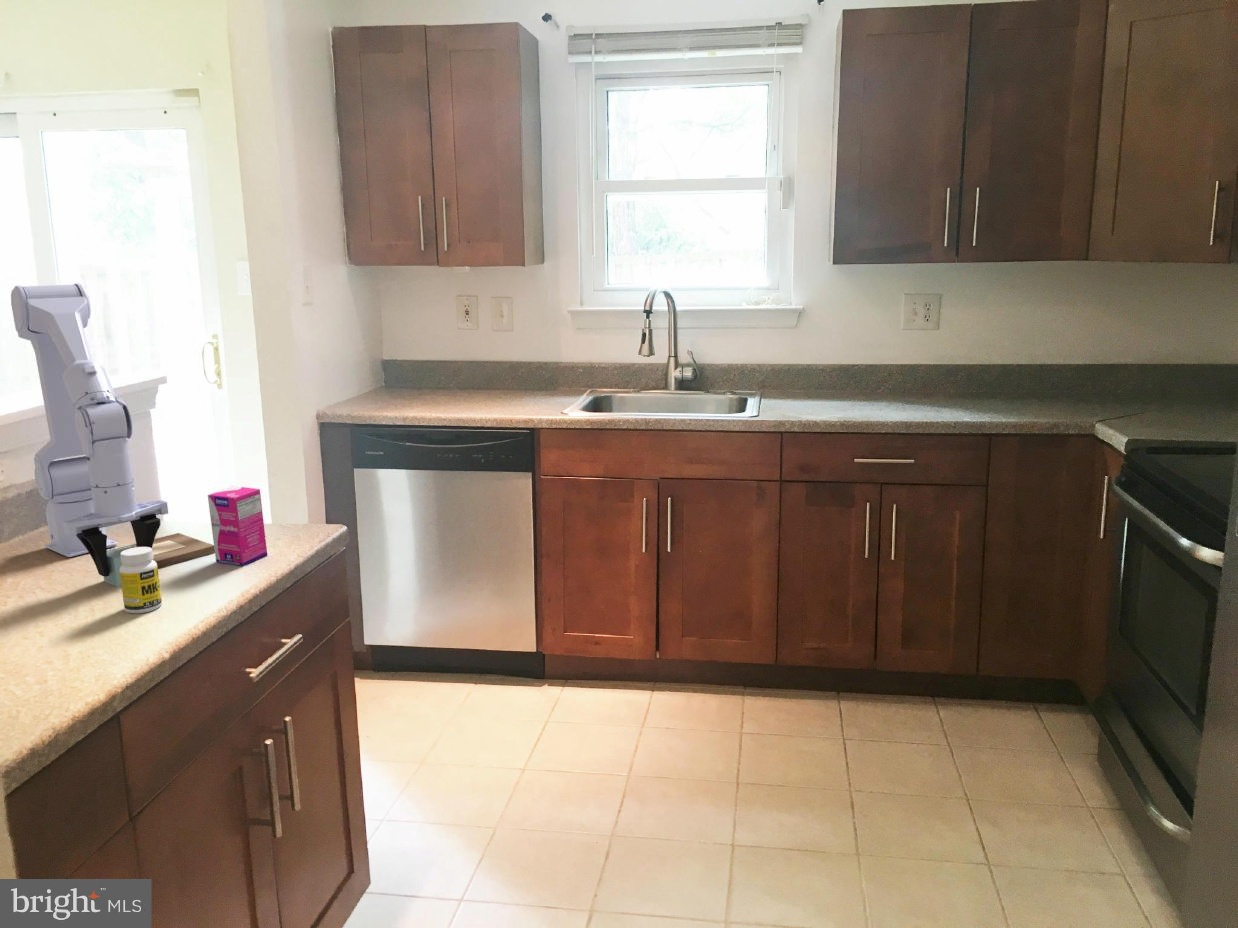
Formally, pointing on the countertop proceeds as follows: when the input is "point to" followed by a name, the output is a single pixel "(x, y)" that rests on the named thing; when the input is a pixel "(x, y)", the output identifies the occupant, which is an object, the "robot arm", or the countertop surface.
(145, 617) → the countertop surface
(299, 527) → the countertop surface
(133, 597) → the supplement bottle
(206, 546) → the plate
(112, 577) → the teal cube
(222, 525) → the supplement box
